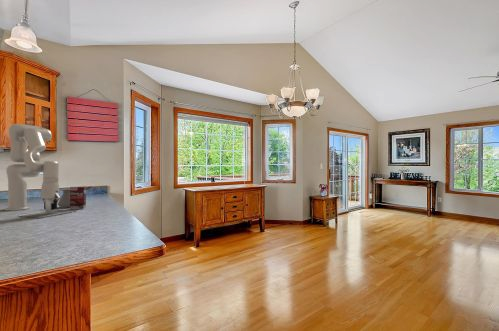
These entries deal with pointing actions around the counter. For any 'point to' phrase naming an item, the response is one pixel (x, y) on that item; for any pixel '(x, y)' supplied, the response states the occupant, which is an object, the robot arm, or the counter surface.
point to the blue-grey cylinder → (48, 205)
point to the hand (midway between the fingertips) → (50, 208)
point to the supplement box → (77, 198)
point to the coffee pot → (66, 199)
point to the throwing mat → (46, 214)
